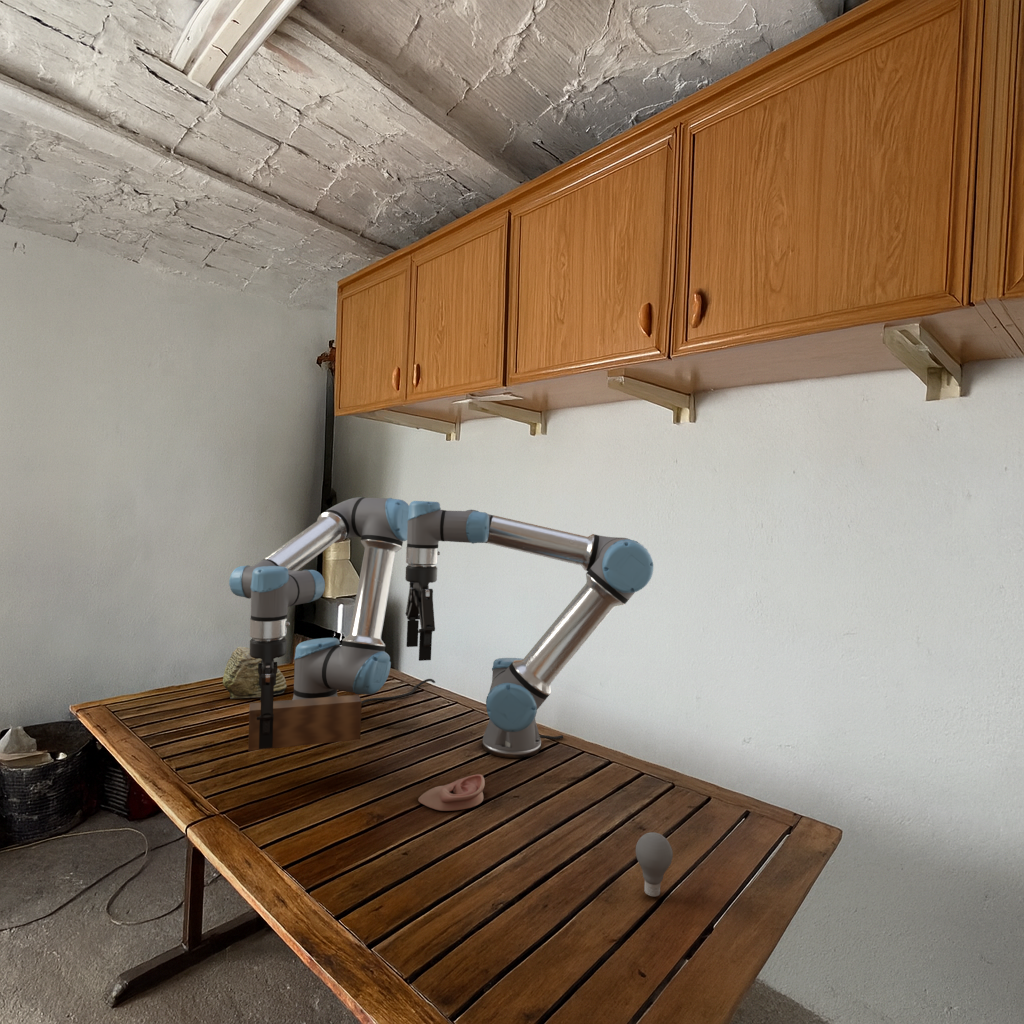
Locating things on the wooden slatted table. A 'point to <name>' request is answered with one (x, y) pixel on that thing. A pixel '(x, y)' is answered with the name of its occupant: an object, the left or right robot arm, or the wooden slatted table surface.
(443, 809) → the anatomical model
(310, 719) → the bar
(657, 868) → the light bulb
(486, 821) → the wooden slatted table surface
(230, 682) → the fossil
